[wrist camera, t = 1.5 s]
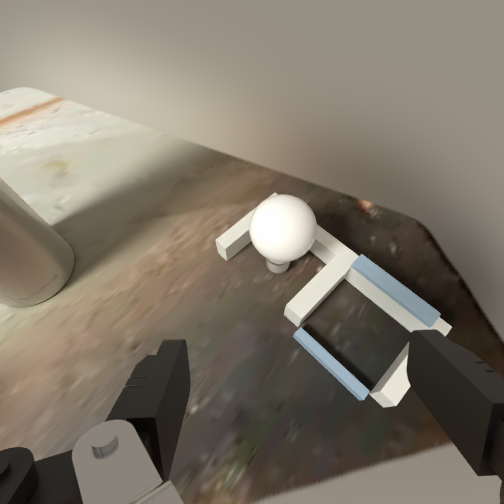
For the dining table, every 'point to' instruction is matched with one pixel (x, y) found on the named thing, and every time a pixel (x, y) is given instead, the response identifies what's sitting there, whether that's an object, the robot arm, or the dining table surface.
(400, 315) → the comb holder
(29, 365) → the dining table surface
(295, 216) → the lightbulb
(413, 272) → the dining table surface
